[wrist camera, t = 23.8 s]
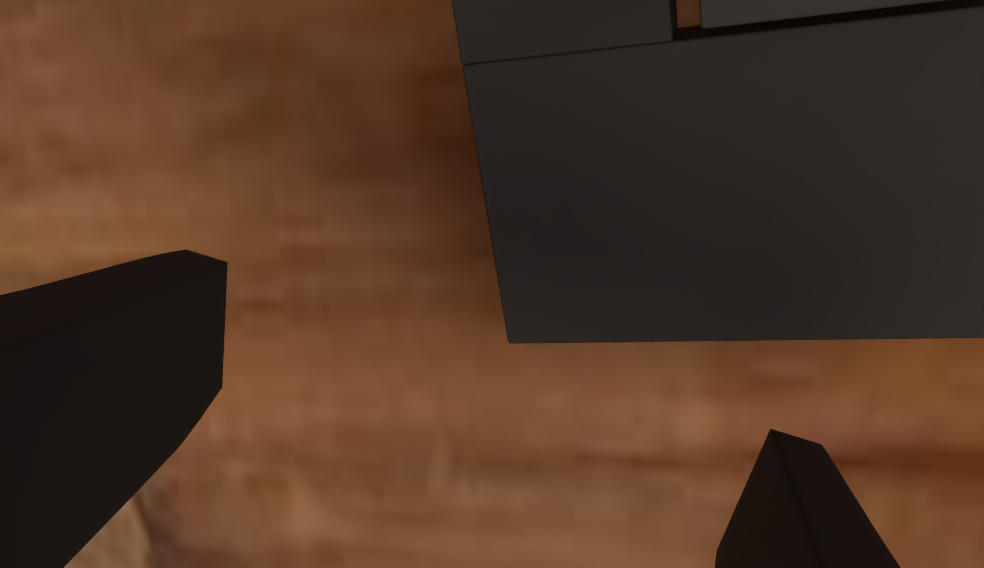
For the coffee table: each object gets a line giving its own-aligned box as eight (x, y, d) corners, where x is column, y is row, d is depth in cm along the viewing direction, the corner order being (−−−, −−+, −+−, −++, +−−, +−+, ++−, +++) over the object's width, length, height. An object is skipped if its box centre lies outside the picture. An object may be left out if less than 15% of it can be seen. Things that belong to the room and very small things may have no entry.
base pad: (522, 315, 21) (507, 344, 20) (435, -243, 16) (408, -252, 15) (1083, 302, 18) (1110, 337, 16) (1183, -414, 13) (1235, -446, 11)
